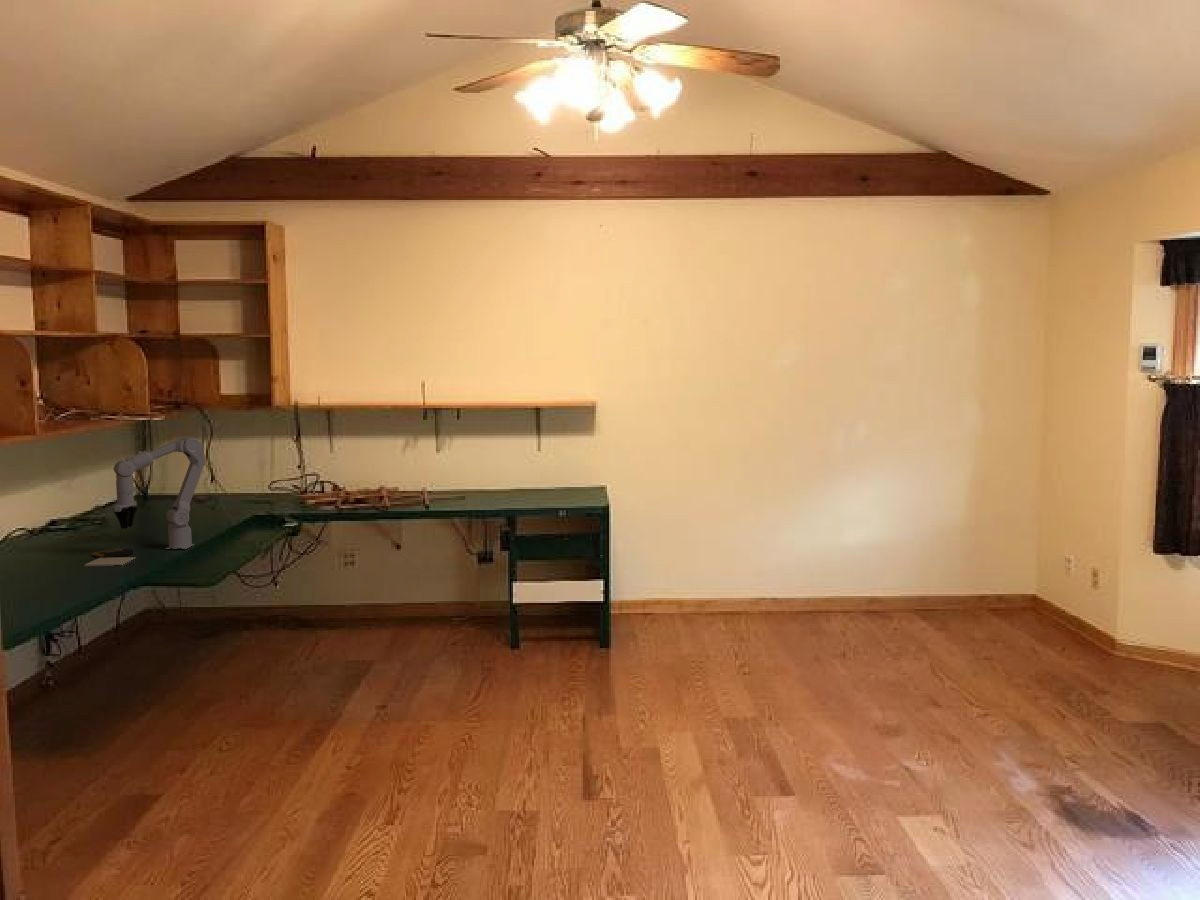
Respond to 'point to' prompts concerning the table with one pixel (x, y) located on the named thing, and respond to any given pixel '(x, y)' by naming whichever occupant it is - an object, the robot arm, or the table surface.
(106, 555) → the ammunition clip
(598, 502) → the table surface
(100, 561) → the mat
